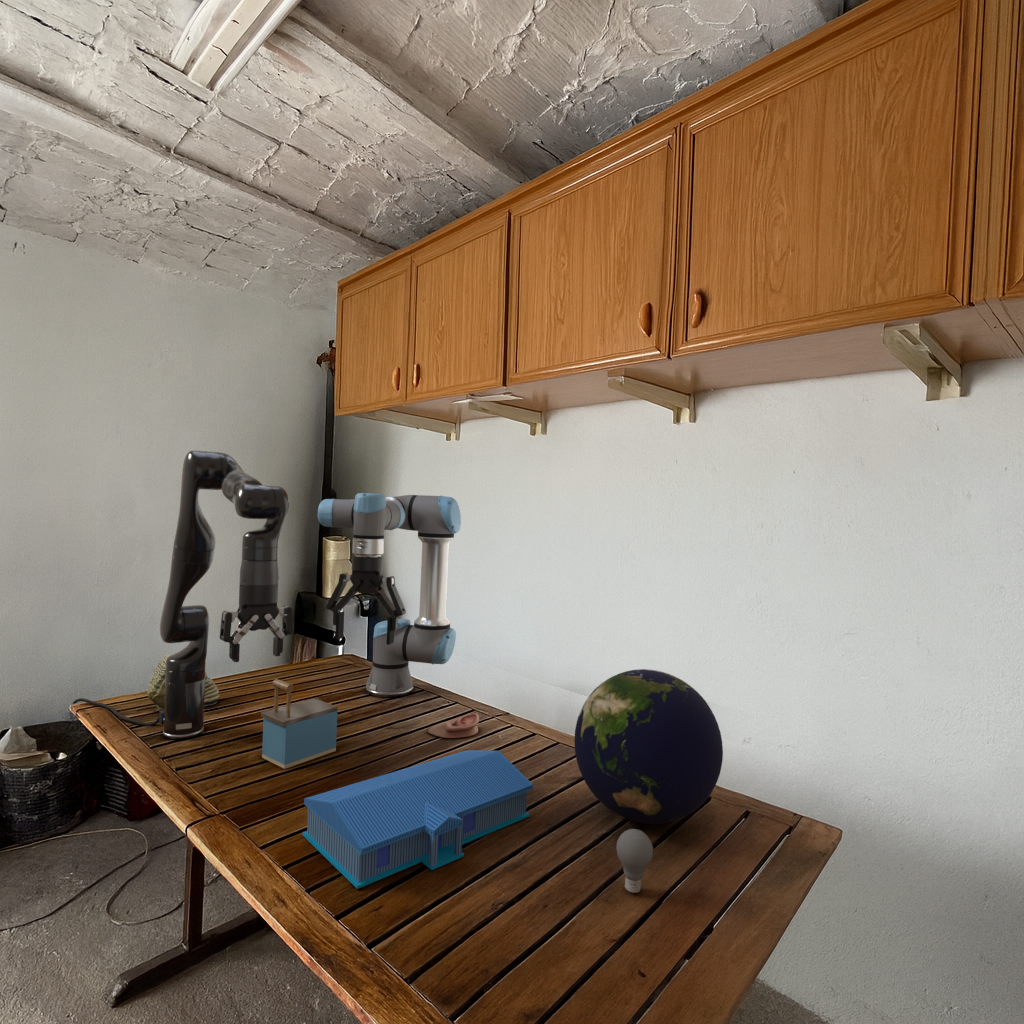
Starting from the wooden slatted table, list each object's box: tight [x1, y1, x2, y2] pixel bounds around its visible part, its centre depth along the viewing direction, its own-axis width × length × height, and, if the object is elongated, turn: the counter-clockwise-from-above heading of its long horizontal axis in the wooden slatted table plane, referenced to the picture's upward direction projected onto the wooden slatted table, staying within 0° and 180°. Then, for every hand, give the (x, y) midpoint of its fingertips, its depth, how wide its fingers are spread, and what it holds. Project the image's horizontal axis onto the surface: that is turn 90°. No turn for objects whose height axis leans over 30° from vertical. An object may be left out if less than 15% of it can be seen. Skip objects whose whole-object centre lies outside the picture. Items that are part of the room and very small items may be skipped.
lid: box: [260, 678, 338, 726], centre depth 154 cm, size 15×9×9 cm, turn 143°
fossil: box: [147, 654, 221, 712], centre depth 185 cm, size 9×18×15 cm, turn 132°
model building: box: [302, 749, 534, 890], centre depth 123 cm, size 39×24×10 cm, turn 132°
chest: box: [261, 710, 338, 770], centre depth 155 cm, size 14×9×10 cm, turn 143°
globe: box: [573, 668, 724, 825], centre depth 131 cm, size 30×30×30 cm
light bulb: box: [615, 828, 654, 894], centre depth 106 cm, size 6×6×10 cm
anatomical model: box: [427, 712, 480, 739], centre depth 174 cm, size 13×4×12 cm
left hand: (256, 658), depth 132 cm, fingers open, 8 cm apart
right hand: (364, 641), depth 157 cm, fingers open, 13 cm apart
